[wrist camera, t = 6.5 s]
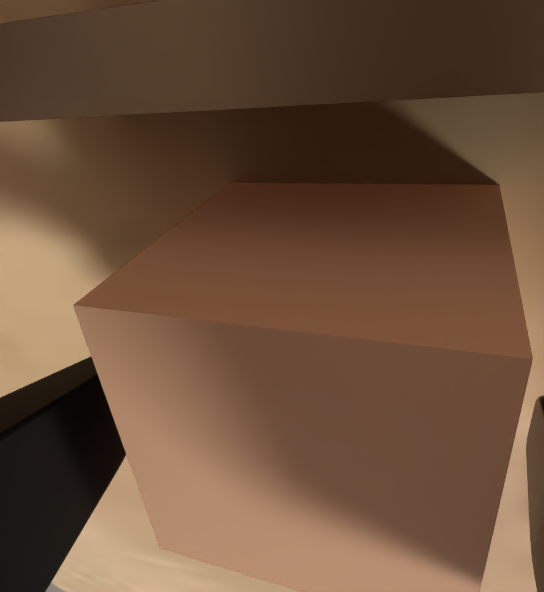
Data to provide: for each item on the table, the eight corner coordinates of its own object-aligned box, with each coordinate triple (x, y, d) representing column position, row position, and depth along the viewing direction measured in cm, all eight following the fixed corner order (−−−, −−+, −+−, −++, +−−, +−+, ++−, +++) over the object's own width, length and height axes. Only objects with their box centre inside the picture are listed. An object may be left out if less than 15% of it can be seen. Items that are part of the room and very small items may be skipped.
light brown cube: (498, 182, 8) (533, 358, 4) (466, 400, 11) (467, 641, 7) (233, 179, 10) (72, 305, 6) (259, 369, 12) (160, 548, 8)
